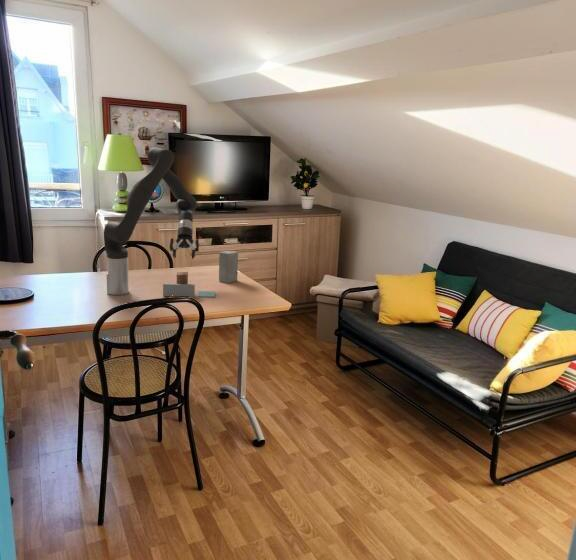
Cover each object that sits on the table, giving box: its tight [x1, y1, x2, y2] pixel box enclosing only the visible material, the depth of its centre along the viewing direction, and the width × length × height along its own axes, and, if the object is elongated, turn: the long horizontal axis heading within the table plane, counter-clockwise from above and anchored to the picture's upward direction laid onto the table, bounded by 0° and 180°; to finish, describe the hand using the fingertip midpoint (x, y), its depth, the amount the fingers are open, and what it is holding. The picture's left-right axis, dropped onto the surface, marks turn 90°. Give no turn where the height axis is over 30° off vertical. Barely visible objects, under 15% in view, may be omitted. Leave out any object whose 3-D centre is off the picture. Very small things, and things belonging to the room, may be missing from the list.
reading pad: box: [197, 290, 216, 298], centre depth 251 cm, size 8×8×1 cm
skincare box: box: [218, 250, 239, 284], centre depth 274 cm, size 8×7×16 cm
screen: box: [162, 283, 196, 298], centre depth 245 cm, size 14×1×6 cm, turn 98°
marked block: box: [176, 271, 189, 284], centre depth 249 cm, size 5×5×10 cm
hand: (183, 257), depth 258 cm, fingers open, 8 cm apart
